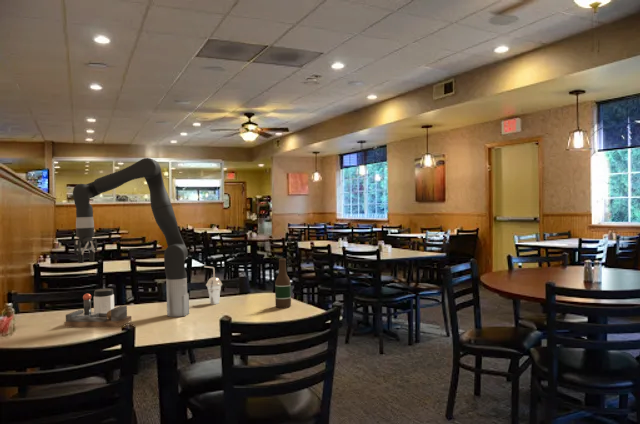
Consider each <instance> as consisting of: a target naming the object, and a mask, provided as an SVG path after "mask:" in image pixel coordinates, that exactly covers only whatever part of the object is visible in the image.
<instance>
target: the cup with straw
mask: <svg viewBox="0 0 640 424" xmlns="http://www.w3.org/2000/svg"><path fill="white" fill-rule="evenodd" d="M203 268H209V269H212V271H213V275H212V276H213V277H210V278H209V279H208V281H207V283H206V284H205V286H206V287H207V291H208V297H209V303H210V305H219V304H220V299H221V298H220V295H221V288H222V286H223V283H222V281H221V280H220V278H219V277H216V273H215V272H216V270H215V267H214V266H208V265H203Z"/></svg>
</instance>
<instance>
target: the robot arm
mask: <svg viewBox="0 0 640 424" xmlns="http://www.w3.org/2000/svg"><path fill="white" fill-rule="evenodd" d="M142 178H144V179H145V182H146V184H147V186H148V190H149V196H150V197H149V202H150V208H151V212H152V214H153V218H154V220H155V222H156V224H157V226H158V227H159V229H160V230H161V232H162V234H163V236H164V239H165V241H166V245H167V247H166V248H165V251H164V255H163V261H164V273H165V277H166V279H165V280H166V314H167V315H166V316H167V317H171V318H178V317H185V315H186V316H187V315H189V314H190V296H189V295H190V293H189V292H188V283H187V282H188V273H187V271H186V267H185V263H186V262H185V261H186V260H187V258H188V255H189V253H188V251H189V250H188V248H187V246H186V244H185V241H184V239H183V237H182V235H181V232H180V229H179V226H178V225H179V224H178V221H177V218H176V215H175V211H174V208H173V204H172V202H171V199H170V196H169V194H168V192H167V189H166V187H165V182H164V178H163V174H162V168H161V165H160V164H159V162H158V161H157V160H155V159H153V158H149V157H144V158H142V159H140V160H138V161H136V162H134V163H133V164H131V165H130V166H127V167H126V168H123V169H120V170H118V171H115V172H114V171H113V173H109V174H105V175H103V176H100V177H98V178H96V179H94V181H92V182H89V183H77V184H76V185H74V187H73V190H72V198H73V201H74V206H75V213H76V215H75V217H76V219H75V230H76V232H75V233H76V234H75V235H76V238H78V239H77V240H74V241H73V246H74V247H73V253H74V255H75V254H76V255H77V263H78V264H83V263H85V262H84V253H85V251H86V250H87V251H88V260H89V262H94V261H95V253H96V252H98V241H97V238H94V237H95V222H94V220H95V219H94V208H93V205H92V204H90V203H91V202H90V199H92V198H95V197H97V196H99V195H101V194H104V193H106V192H109V191H112V190H114V189H117V188H119V187H121V186H124V184H127V183H128V182H130V181H133V180H137V179H142Z"/></svg>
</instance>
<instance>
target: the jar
mask: <svg viewBox="0 0 640 424" xmlns="http://www.w3.org/2000/svg"><path fill="white" fill-rule="evenodd" d="M93 294H94V295H93V312H98V313H107V312H108V311H110V310H111V309H114V308H115V294H114V289H113V288H100V289H99V288H97V289H95V290H94V293H93Z"/></svg>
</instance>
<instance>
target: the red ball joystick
mask: <svg viewBox="0 0 640 424" xmlns="http://www.w3.org/2000/svg"><path fill="white" fill-rule="evenodd" d="M82 299H83V310H84V313H82V314H80V315H77V317H99V313H98V312H94V311H92V300H91V299H92V295H91V294H90V293H85V294H83V296H82Z"/></svg>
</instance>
